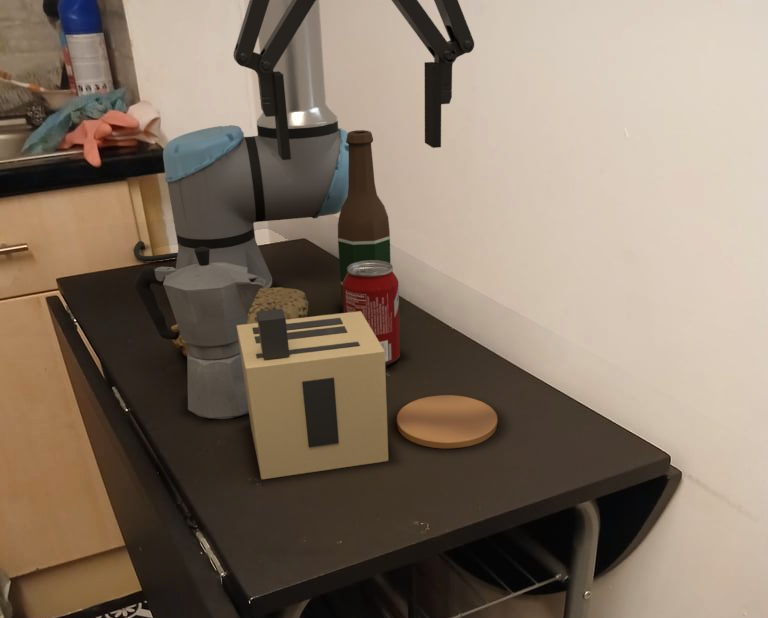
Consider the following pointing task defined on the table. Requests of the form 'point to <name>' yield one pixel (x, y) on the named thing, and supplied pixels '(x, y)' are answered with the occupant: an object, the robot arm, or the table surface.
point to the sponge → (266, 308)
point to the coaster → (447, 421)
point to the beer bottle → (362, 210)
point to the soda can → (375, 302)
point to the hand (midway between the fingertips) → (359, 151)
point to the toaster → (317, 396)
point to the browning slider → (273, 334)
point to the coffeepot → (206, 328)
